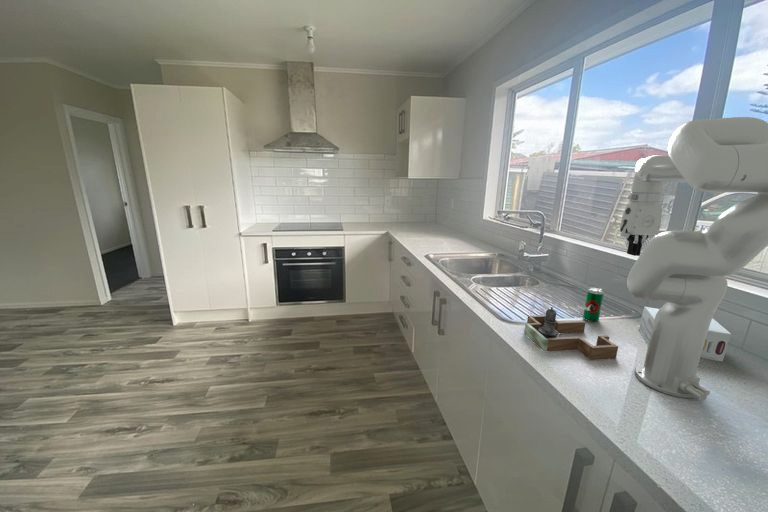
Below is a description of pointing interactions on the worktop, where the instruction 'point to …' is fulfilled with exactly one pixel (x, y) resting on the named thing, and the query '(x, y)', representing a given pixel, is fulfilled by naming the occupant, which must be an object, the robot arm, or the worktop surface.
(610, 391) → the worktop surface
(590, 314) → the soda can
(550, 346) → the wooden zigzag wall frame
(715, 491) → the worktop surface
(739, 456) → the worktop surface
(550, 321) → the stone chess piece
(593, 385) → the worktop surface
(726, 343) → the supplement box
